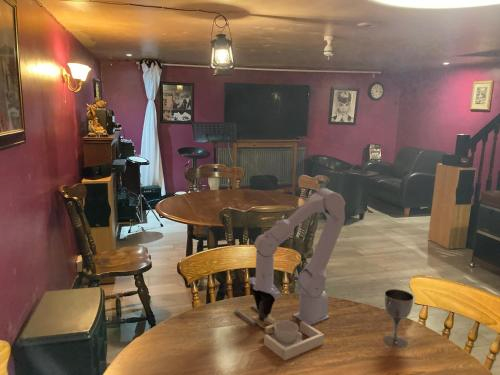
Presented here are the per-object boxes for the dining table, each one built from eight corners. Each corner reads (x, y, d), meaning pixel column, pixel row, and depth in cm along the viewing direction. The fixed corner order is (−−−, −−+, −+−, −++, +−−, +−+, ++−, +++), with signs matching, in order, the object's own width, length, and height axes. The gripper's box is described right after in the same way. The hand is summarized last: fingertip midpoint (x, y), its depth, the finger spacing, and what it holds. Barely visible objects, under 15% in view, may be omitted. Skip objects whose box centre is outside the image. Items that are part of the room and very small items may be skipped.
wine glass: (385, 331, 128) (389, 286, 125) (411, 339, 123) (416, 293, 121) (377, 342, 121) (381, 295, 119) (405, 351, 117) (409, 303, 114)
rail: (253, 306, 143) (253, 303, 143) (272, 319, 134) (272, 316, 134) (235, 312, 139) (235, 309, 138) (253, 325, 130) (253, 322, 130)
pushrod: (269, 314, 137) (270, 295, 136) (292, 328, 128) (292, 309, 127) (245, 322, 131) (246, 302, 130) (267, 338, 122) (267, 317, 121)
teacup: (263, 343, 120) (264, 329, 119) (278, 328, 129) (278, 315, 128) (294, 353, 115) (295, 338, 114) (307, 337, 124) (308, 323, 123)
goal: (302, 329, 128) (302, 321, 127) (323, 343, 120) (324, 334, 120) (264, 344, 119) (264, 335, 119) (284, 360, 112) (285, 350, 111)
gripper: (241, 267, 132) (241, 305, 135) (268, 282, 121) (267, 324, 123) (258, 263, 136) (258, 300, 139) (286, 277, 125) (285, 318, 127)
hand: (263, 311), depth 131 cm, fingers closed on pushrod, 3 cm apart
